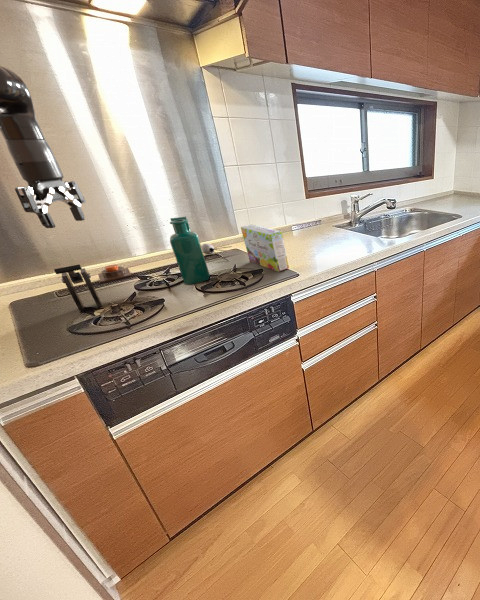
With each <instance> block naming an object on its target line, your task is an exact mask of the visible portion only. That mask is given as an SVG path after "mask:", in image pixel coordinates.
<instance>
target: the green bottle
mask: <svg viewBox="0 0 480 600" xmlns="http://www.w3.org/2000/svg"><path fill="white" fill-rule="evenodd" d="M169 220H170V222H169V224H170V225H172V229H173V232H174V233H172V234H171V235H170V237H169V244H170V247H171V250H172V252H173V255H174V258H175V261H176V263H177V267H178V269H179V273H180V275H181V278H182V281H183V284H185V285H194V284H198V283H197V282H199V283H203V282H202V281H204V282H207V281H206V280H208V279H209V276H210V277H211V274H210V271H209V267H208V263H207V261H206V257H205V254H204V253H203V251H202V247H201V245H202V244H201V241H200V238H199V235H198V233H197V232H195V231H192V230H191V227H190V224H189V220H188V218H187V216H177V217H171V218H169ZM208 281H209V280H208Z"/></svg>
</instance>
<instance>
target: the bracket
mask: <svg viewBox="0 0 480 600" xmlns="http://www.w3.org/2000/svg"><path fill="white" fill-rule="evenodd" d="M80 274H81V276H82V278H83V281H84V283H85V285H86V287H87V289H88V291H89V293H90V295H91V297H92V299H93V301H94V303H95V305H96V307H97V308H98V309H101V308H103V304H102V301H101V299H100V297H99V295H98V292H97V290H96V288H95V286H94V284H93V282H92V280H91V278H92V275H91V274H90V273H89V272H87V270H86V268H85V267H84V268H82V270H80ZM60 280H61V282H62V283H63V284H65V286H66V289H67V290H68V292H69V294H70V296H71V298H72V299H73V301H74V303H75V305H76V308H77V309H78V311H79V313H80V314H81V313H85V312H86V309H85V310H84V307H85V305H84V303H83V301H82V299H81V297H80V295H79V293H78V292H77V289H76V288H75V285H74V283H73V282H72V281H71V279H70V276H69V274H68V273H67V272H66V273H61V278H60Z"/></svg>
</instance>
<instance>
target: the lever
mask: <svg viewBox="0 0 480 600" xmlns="http://www.w3.org/2000/svg"><path fill="white" fill-rule="evenodd" d="M82 269H83V268H82V265H81V264H80V263H79V264H73V265H68V266H63V267H58V268H54V269H53V271H54V273H55V274H56V275H62V273H66V272H67V274H68V276H69V278H70V280H71V282H72V284H73V285H76V284H81V283H85V280H84V278H83V276H82V274H81V272H76V271H81V270H82Z"/></svg>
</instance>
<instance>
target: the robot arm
mask: <svg viewBox="0 0 480 600" xmlns="http://www.w3.org/2000/svg"><path fill="white" fill-rule="evenodd" d="M35 111H36V110H35V106H34V103H33V98H32V95H31V93H30V90H29V88H28V87H27V85H26V82H25V81H24V80H23V79H22V78H21V76H19V74H17V73H16V72H15V71H13V70H12V69H9V68H7V67H5V66H2V65H0V134H1V135H2V137H3V139H4V142H5V144H6V147H7V150H8V152H9V155H10V157H11V158H12V160H13V163H14V164H15V166H16V168H17V170H18V172H19V174H20V177H21V178H22V180H24V181H25V182H26V183H27V185H28V186H20V187H19V186H16V187H14V191H15V193H16V195H17V197H18V199H19V203H20V205H21V206H22V209H23V211H24V213H29V214H35V215H36V216H37V218H38V219H39V221H40V224H41V226H43V227H44V228H46V229H54V228H56V224H55V222H54V220H53V218H52V216H51V214H50V213H49V212H48V211H49V207H50V206H51V205H52V203H55V202H59V201H60V202H62V203H64V204H66V205H67V206H69V210H70V212H71V213H72V216H73V218H74V220H75V221H76V222H78V221H79V222H82V221H85V220H86V219H85V214H84V211H83V210H82V208H81V207H82V205H83V204H86V203H87V202H86V199H85V197H84V195H83V193H82V191H81V189H80V187H79V185H78V183H77V181H75V180H70V181H69V180H68V181H67V180H65V181H64V180H63V179H64V177H65V176H64V174H63V172H62V170H61V167H60V165H59V163H58V160H57V158H56V155H55V154H54V152H53V150H52V148H51V146H50V145H49V143H48V141H47V140H46V138H45V135H44V133H43V131H42V129H41V126H40V124H39V123H38V121H37V117H36V112H35ZM33 195H34V196H33Z"/></svg>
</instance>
